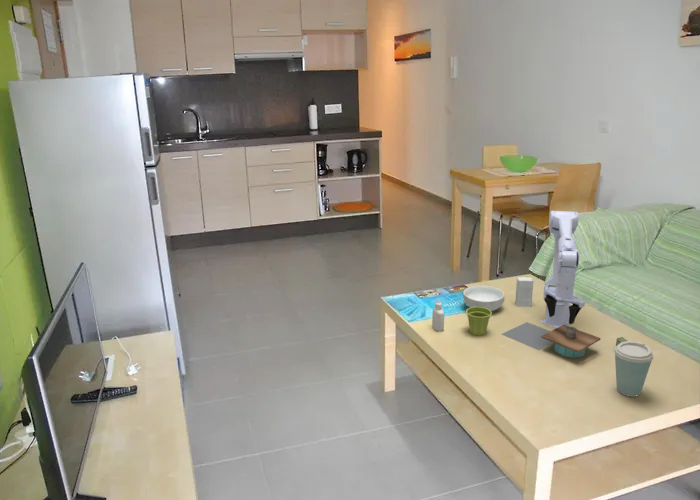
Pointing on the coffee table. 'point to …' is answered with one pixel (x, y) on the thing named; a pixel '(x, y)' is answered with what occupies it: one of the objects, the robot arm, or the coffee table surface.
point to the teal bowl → (568, 351)
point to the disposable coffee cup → (632, 366)
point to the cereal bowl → (483, 297)
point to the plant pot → (478, 320)
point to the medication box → (620, 340)
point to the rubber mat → (529, 335)
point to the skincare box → (524, 291)
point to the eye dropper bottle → (438, 317)
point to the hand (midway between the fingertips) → (561, 319)
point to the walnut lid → (570, 338)
